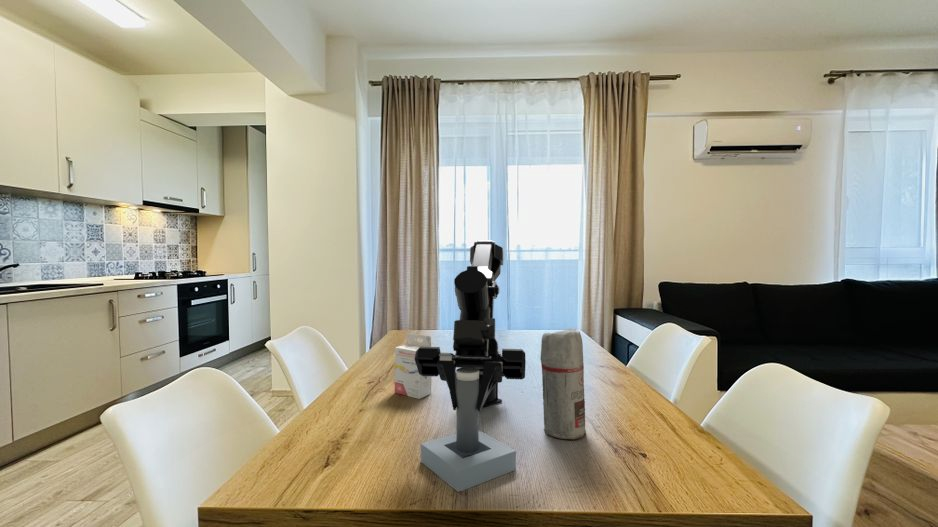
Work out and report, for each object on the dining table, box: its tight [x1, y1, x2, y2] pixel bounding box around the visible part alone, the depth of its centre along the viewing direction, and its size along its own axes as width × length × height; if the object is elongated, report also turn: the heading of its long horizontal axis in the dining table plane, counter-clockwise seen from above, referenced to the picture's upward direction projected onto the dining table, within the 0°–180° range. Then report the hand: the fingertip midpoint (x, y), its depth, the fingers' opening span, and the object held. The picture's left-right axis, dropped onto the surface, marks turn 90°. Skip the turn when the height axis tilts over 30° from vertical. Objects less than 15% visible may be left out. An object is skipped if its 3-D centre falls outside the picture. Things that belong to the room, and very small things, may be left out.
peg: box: [455, 367, 480, 453], centre depth 65 cm, size 4×4×12 cm
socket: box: [420, 430, 517, 493], centre depth 65 cm, size 11×11×3 cm
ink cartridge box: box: [394, 332, 432, 400], centre depth 102 cm, size 9×5×15 cm, turn 58°
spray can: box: [540, 328, 587, 440], centre depth 79 cm, size 8×8×20 cm
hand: (466, 409), depth 64 cm, fingers closed on peg, 4 cm apart
